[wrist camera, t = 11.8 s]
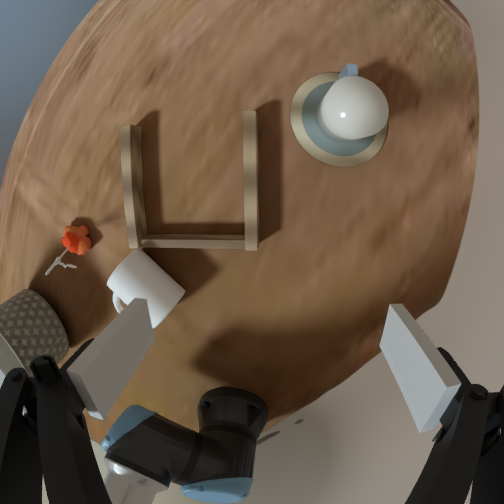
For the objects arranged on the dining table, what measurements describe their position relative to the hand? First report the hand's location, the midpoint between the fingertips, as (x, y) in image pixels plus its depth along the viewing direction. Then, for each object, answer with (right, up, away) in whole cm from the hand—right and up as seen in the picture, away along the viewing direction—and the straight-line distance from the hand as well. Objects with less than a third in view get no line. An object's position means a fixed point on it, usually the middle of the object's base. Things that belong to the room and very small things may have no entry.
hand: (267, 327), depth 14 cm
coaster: (+11, +22, +19) cm, 31 cm away
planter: (-51, -12, +37) cm, 64 cm away
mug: (-18, -2, +30) cm, 35 cm away
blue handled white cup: (+11, +23, +18) cm, 31 cm away
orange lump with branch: (-31, +6, +29) cm, 43 cm away
